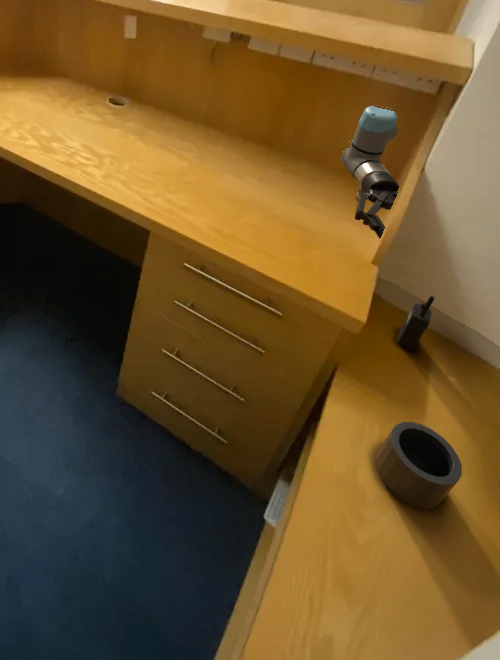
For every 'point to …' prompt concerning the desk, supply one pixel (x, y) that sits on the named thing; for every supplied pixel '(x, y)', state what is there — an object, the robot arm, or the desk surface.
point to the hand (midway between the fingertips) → (419, 241)
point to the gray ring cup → (418, 465)
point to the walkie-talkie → (415, 324)
